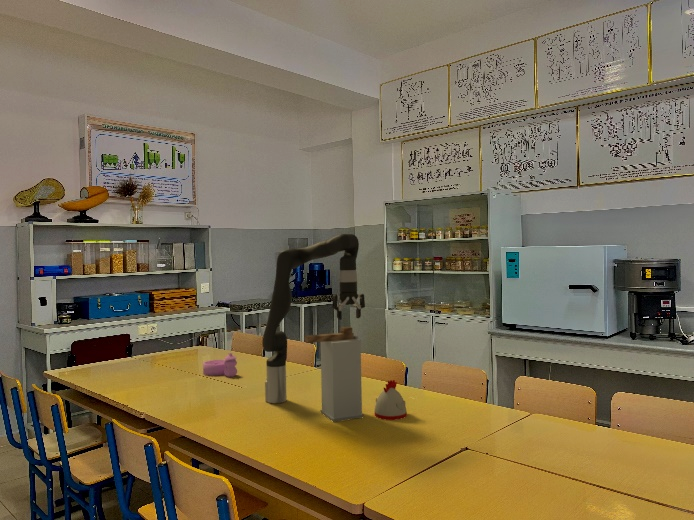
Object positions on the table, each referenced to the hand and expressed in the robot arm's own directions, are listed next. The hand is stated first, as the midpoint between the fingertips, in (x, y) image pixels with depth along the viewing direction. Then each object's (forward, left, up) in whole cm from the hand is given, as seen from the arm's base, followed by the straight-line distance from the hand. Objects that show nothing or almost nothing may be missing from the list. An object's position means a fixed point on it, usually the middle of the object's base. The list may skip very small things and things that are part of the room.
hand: (349, 318), depth 230 cm
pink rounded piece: (-104, +55, -43) cm, 125 cm away
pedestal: (-5, +2, -42) cm, 43 cm away
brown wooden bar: (-9, -1, -9) cm, 13 cm away
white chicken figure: (+15, +9, -43) cm, 46 cm away
